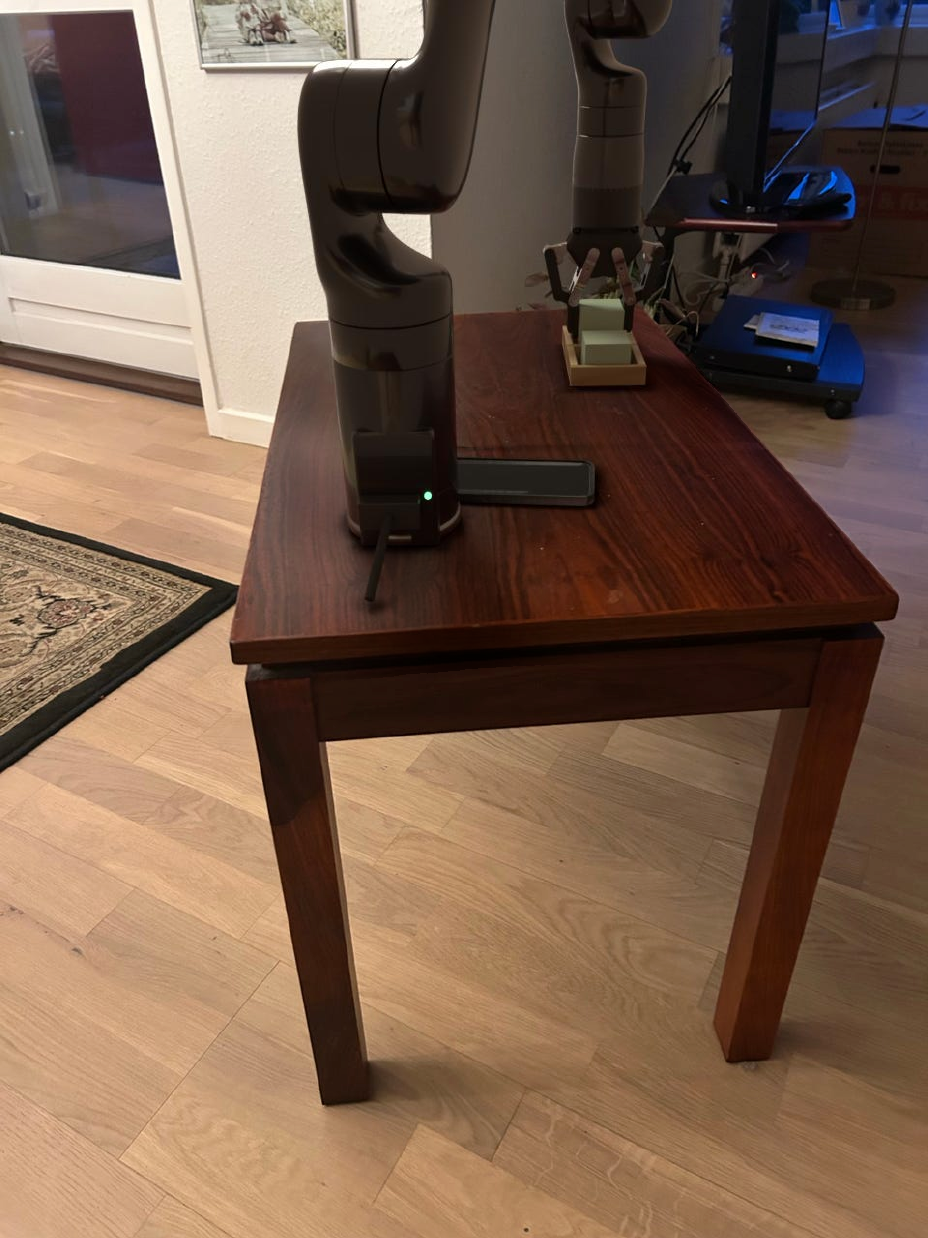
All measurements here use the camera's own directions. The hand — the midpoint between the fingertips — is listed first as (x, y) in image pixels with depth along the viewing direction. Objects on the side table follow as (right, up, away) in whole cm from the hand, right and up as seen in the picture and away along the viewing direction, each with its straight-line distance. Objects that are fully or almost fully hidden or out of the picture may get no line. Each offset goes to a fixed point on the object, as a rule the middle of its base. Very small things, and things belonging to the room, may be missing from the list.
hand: (599, 335), depth 112 cm
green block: (0, 0, 0) cm, 0 cm away
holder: (0, -4, -2) cm, 4 cm away
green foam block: (0, -6, -5) cm, 8 cm away
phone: (-12, -22, -27) cm, 37 cm away
